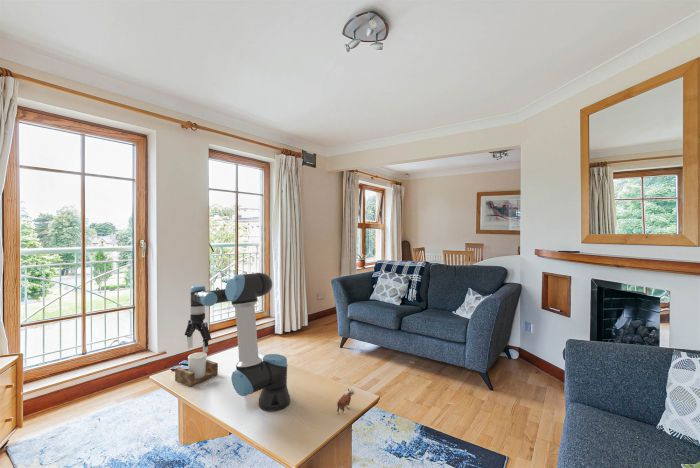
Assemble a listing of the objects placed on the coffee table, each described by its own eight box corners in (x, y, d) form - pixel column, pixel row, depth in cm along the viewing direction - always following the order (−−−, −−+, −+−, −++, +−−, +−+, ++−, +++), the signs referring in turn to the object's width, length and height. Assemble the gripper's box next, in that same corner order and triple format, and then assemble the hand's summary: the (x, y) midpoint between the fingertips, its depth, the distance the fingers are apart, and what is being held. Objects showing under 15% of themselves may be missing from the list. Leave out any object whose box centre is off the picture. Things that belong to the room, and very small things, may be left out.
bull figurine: (356, 404, 158) (356, 388, 157) (341, 418, 146) (342, 400, 146) (348, 402, 160) (348, 385, 160) (333, 415, 148) (334, 397, 148)
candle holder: (189, 373, 186) (189, 353, 185) (207, 371, 188) (207, 351, 188) (185, 381, 176) (186, 359, 176) (205, 379, 179) (205, 357, 179)
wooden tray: (217, 375, 186) (217, 363, 186) (190, 387, 172) (190, 374, 172) (202, 369, 193) (202, 358, 193) (175, 380, 178) (175, 368, 178)
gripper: (218, 314, 179) (217, 352, 179) (190, 309, 192) (189, 344, 191) (206, 317, 173) (206, 356, 173) (178, 311, 185) (177, 348, 185)
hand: (197, 350), depth 182 cm, fingers open, 13 cm apart
